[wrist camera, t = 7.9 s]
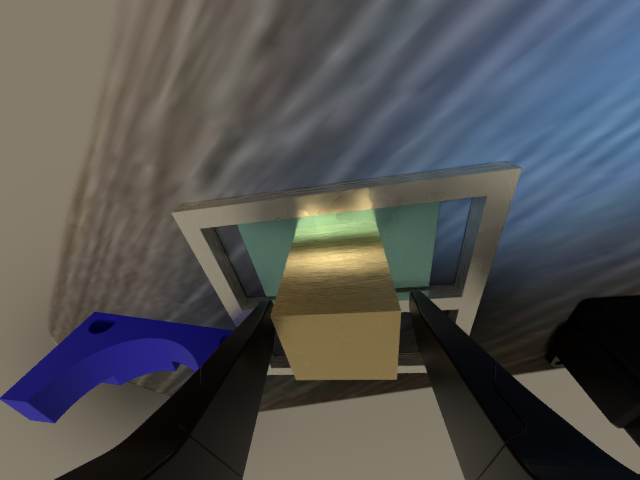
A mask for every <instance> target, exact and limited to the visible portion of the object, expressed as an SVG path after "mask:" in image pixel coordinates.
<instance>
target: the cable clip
mask: <svg viewBox="0 0 640 480" xmlns="http://www.w3.org/2000/svg"><path fill="white" fill-rule="evenodd" d="M232 332H233V331H231V330H224V329H216V328H209V327H202V326H194V325H187V324H180V323H172V322H165V321H158V320H150V319H143V318H136V317H128V316H121V315H114V314H106V313H99V312H94V313H93V314H92V315H91V316H89V317H88V318H87V319H86V320H85V321H84V322H83V323H82V324H81V325H80V326H78V327H77V328H76V329H75V330H74V331H73V332H72V333H71V334H70V335H69V336H68V337H66V338H65V339H64V340H63V341H62V342H61V343H60V344H59V345H58V346H57V347H55V348H54V349H53V350H52V351H51V352H50V353H49V354H48V355H47V356H46V357H44V358H43V359H42V360H41V361H40V362H39V363H38V364H37V365H36V366H35V367H33V368H32V369H31V370H30V371H29V372H28V373H27V374H26V375H25V376H24V377H22V378H21V379H20V380H19V381H18V382H17V383H16V384H15V385H14V386H13V387H12V388H10V389H9V390H8V391H7V392H6V393H5V394H4V395H3V396H2V397H0V400H2V401H3V402H5V403H6V404H8V405H9V406H11V407H12V408H14V409H15V410H16V411H18V412H19V413H21V414H22V415H24V416H25V417H27V418H28V419H30V420H34V421H41V422H49V423H56V422H57V420H58V419H59V418H60V417H61V416H62V415H63V414H64V413H65V412H66V411H67V410H68V409H69V408H70V407H71V406H72V405H73V404H74V403H75V402H76V401H77V400H79V398H81V397H82V396H83V395H85V394H86V393H87V392H88V391H89V390H91V389H92V388H94V387H95V386H96V385H98V384H99V383H108V384H116V385H122V384H124V383H125V382H127V381H129V380H132V379H134V378H136V377H139V376H142V375H145V374H148V373H152V372H157V371H166V370H169V371H176V370H177V368H178V366H179V365H180V363H181V364H184V365H186V366H188V367H190V368H191V369H192V370H194V371H195V372H196V371H197V370H198V369H199V368H200V367H201V366H202V365H203V363H204V362H205V361H206V360H207V359H208V358H209V357H210V356H211V355H212V354H213V353H214V352H215V351H216V349H217V348H218V347H219V346H220V345H221V344H222V343H223V342H224V341H225V340H226V339H227V338H228V337H229V336H230V334H231V333H232Z"/></svg>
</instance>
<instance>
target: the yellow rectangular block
mask: <svg viewBox="0 0 640 480" xmlns="http://www.w3.org/2000/svg"><path fill="white" fill-rule="evenodd" d="M270 317H271V320H272V322H273V324H274V327H275V329H276V332H277V334H278V337H279V339H280V342H281V344H282V347H283V349H284V351H285V354H286V356H287V359H288V361H289V364H290V366H291V369H292V371H293V374H294V376H295V378H296V380H397V369H398V354H399V338H400V323H401V308H400V305H399V301H398V298H397V294H396V291H395V287H394V284H393V280H392V277H391V273H390V270H389V266H388V263H387V259H386V255H385V252H384V248H383V245H382V241H381V238H380V234H379V231H378V227H377V224H376V221H367V222H357V223H347V224H336V225H326V226H316V227H305V228H297V229H296V232H295V236H294V239H293V242H292V246H291V249H290V252H289V256H288V259H287V262H286V266H285V269H284V272H283V276H282V279H281V282H280V286H279V289H278V293H277V296H276V299H275V303H274V306H273V309H272V313H271V316H270Z"/></svg>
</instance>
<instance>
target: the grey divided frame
mask: <svg viewBox="0 0 640 480" xmlns="http://www.w3.org/2000/svg"><path fill="white" fill-rule="evenodd" d="M521 169H522V168H521V167H518V166H516V165H514V164H511V163H509V162H507V161H503V162H496V163H488V164H480V165H473V166H465V167H458V168H450V169H443V170H435V171H428V172H420V173H413V174H405V175H398V176H390V177H383V178H375V179H367V180H360V181H352V182H345V183H337V184H330V185H322V186H315V187H307V188H300V189H292V190H285V191H277V192H270V193H262V194H255V195H247V196H239V197H232V198H224V199H217V200H209V201H202V202H194V203H187V204H182V205H181V206H180V207H178V208H177V209H176V210H174V211H173V212H172V215H173V217H174V219H175V220H176V222H177V224H178V226H179V227H180V229H181V231H182V233H183V234H184V236H185V238H186V240H187V242H188V243H189V245H190V247H191V249H192V250H193V252H194V254H195V256H196V257H197V259H198V261H199V263H200V264H201V266H202V268H203V270H204V271H205V273H206V275H207V277H208V278H209V280H210V282H211V284H212V286H213V287H214V289H215V291H216V293H217V294H218V296H219V298H220V300H221V301H222V303H223V305H224V307H225V308H226V310H227V312H228V314H229V315H230V317H231V319H232V321H233V322H234V324H235V326H236V328H237V327H238V326H239V325H240V324H241V323H242V322H243V320H244V319H245V318H246V317H247V316H248V315H249V314H250V313H251V312H252V311H253V310H254V309H255V308H256V307H257V305H258V304H259V303H260V302H261V301H263V300H272V302H273V304H274V303H275V299H276V296H277V293H278V289H279V286H280V282H281V279H282V276H283V272H284V269H285V266H286V262H287V259H288V256H289V252H290V249H291V246H292V242H293V239H294V236H295V232H296V229H297V228H305V227H316V226H326V225H336V224H347V223H357V222H367V221H376V224H377V227H378V231H379V234H380V238H381V241H382V245H383V248H384V252H385V255H386V259H387V263H388V266H389V270H390V273H391V277H392V280H393V284H394V287H395V291H396V294H397V298H398V301H399V305H400V308H401V312H410V311H409V295H410V292H411V291H421V292H423V293H424V294H425V295H426V296H427V297H428V298H429V299H430V300H431V301H432V302H433V303H434V304H435V305H437V306H438V307H439V308H440V309H441V310H449V311H448V317H449V318H450V319H452V320H453V321H454V322H455V323H456V324H457V325H458V326H459V327H460V328H461V329H462V330H463V331H464V332H465V333H467V334H468V335H470V332H471V328H472V325H473V322H474V319H475V316H476V313H477V309H478V306H479V303H480V300H481V297H482V293H483V290H484V287H485V284H486V281H487V278H488V274H489V271H490V268H491V265H492V262H493V258H494V255H495V252H496V249H497V246H498V243H499V239H500V236H501V233H502V230H503V227H504V224H505V220H506V217H507V214H508V211H509V208H510V204H511V201H512V198H513V195H514V192H515V189H516V185H517V182H518V179H519V176H520V173H521ZM472 197H473V199H472V204H471V209H470V213H469V218H468V223H467V227H466V232H465V237H464V241H463V246H462V251H461V255H460V260H459V265H458V269H457V274H456V279H455V283H454V284H451V285H436V286H429V282H430V274H431V267H432V259H433V252H434V244H435V237H436V229H437V222H438V214H439V207H440V201H446V200H454V199H463V198H472ZM236 224H237V226H238V228H239V231H240V233H241V236H242V238H243V241H244V243H245V245H246V248H247V250H248V253H249V255H250V258H251V260H252V263H253V265H254V267H255V270H256V272H257V275H258V277H259V280H260V282H261V285H262V287H263V289H264V292H265V294H266V297H251V298H247V297H246V295H245V293H244V291H243V289H242V287H241V285H240V283H239V281H238V278H237V276H236V274H235V272H234V270H233V268H232V266H231V264H230V262H229V260H228V257H227V255H226V253H225V251H224V249H223V247H222V245H221V243H220V241H219V239H218V237H217V234H216V232H215V230H214V228H213V227H218V226H227V225H236ZM397 373H427V371H426V368H425V365H424V363H423V360H422V357H421V354H420V352H415V353H399V354H398V369H397ZM267 375H294V374H293V371H292V369H291V366H290V364H289V361H288V359H287V356H274V354H273V352H272V355H271V360H270V364H269V368H268V373H267Z"/></svg>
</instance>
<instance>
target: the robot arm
mask: <svg viewBox="0 0 640 480" xmlns="http://www.w3.org/2000/svg"><path fill="white" fill-rule="evenodd" d="M273 306H274V304H273V302H272V300H263V301H261V302H260V303H259V304H258V305H257V307H256V308H255V309H254V310H253V311H252V312H251V313H250V314H249V315H248V316H247V317H246V318H245V319H244V320H243V322H242V323H241V324H240V325H239V326H238V327H237V328H236V329H235V330H234V331H233V332H232V333H231V334H230V336H229V337H228V338H227V339H226V340H225V341H224V342H223V343H222V344H221V345H220V346H219V347H218V348H217V349H216V351H215V352H214V353H213V354H212V355H211V356H210V357H209V358H208V359H207V360H206V361H205V362H204V363H203V365H202V366H201V367H200V368H199V369H198V370H197V371H196V372H195V373H194V374H193V375H192V376H191V377H190V378H189V379H188V380H187V381H186V382H185V383H184V384H183V386H182V387H181V388H180V389H179V390H178V391H176V392H175V393H174V394H173V395H172V396H171V397H170V398H169V399H168V400H167V401H166V402H165V403H164V404H163V405H162V406H161V407H160V408H159V409H158V410H157V411H156V412H154V413H153V414H152V415H151V416H150V417H149V418H148V419H147V420H146V421H145V422H144V423H143V424H142V425H141V426H140V427H139V428H138V429H136V430H135V431H134V432H133V433H132V434H131V435H130V436H129V437H128V438H127V439H125V440H124V441H123V442H121V443H120V444H119V445H117V446H116V447H114V448H113V449H111V450H110V451H108V452H106V453H105V454H103V455H101V456H99V457H97V458H95V459H93V460H91V461H89V462H87V463H86V464H84V465H82V466H80V467H78V468H76V469H74V470H72V471H70V472H68V473H66V474H65V475H62V476H60V477H58V478H56V479H55V480H243V478H242V477H243V474H244V470H245V466H246V461H247V457H248V453H249V449H250V445H251V441H252V436H253V432H254V428H255V424H256V419H257V415H258V411H259V407H260V402H261V398H262V394H263V390H264V385H265V381H266V377H267V373H268V368H269V364H270V360H271V355H272V351H273V344H274V336H275V327H274V324H273V322H272V320H271V317H270V316H271V313H272V309H273ZM409 311H410V315H411V319H412V324H413V328H414V332H415V337H416V341H417V345H418V348H419V351H420V354H421V357H422V360H423V363H424V365H425V368H426V371H427V374H428V377H429V380H430V382H431V385H432V388H433V391H434V393H435V396H436V399H437V402H438V405H439V408H440V410H441V413H442V416H443V419H444V422H445V424H446V427H447V430H448V433H449V436H450V438H451V442H452V444H453V447H454V450H455V453H456V456H457V458H458V461H459V464H460V467H461V470H462V472H463V475H464V478H465V480H640V474H637V473H635V472H634V471H632V470H630V469H629V468H627V467H626V466H624V465H623V464H621V463H619V462H618V461H617V460H615V459H614V458H612V457H611V456H610V455H608V454H607V453H605V452H604V451H603V450H601V449H600V448H599V447H598V446H596V445H595V444H594V443H593V442H591V441H590V440H589V439H588V438H586V437H585V436H584V435H583V434H582V433H580V432H579V431H578V430H576V429H575V428H574V427H573V426H572V425H570V424H569V423H568V422H567V421H565V420H564V419H563V418H562V417H560V416H559V415H558V414H557V413H556V412H554V411H553V410H552V409H551V408H549V407H548V406H547V405H546V404H544V403H543V402H542V401H541V400H539V399H538V398H537V397H536V396H535V395H534V394H532V393H531V392H530V391H529V390H528V389H526V388H525V387H524V386H523V385H522V384H521V383H520V382H518V381H517V380H516V379H515V378H514V377H513V376H512V375H511V374H510V373H508V372H507V371H506V370H505V369H504V368H503V367H502V366H501V365H500V364H499V363H498V362H495V360H494V359H493V358H492V357H491V356H490V355H489V354H488V353H487V352H486V351H485V350H484V349H483V348H482V347H480V346H479V345H478V344H477V343H476V342H475V341H474V340H473V339H472V338H471V337H470V336H469V335H468V334H467V333H465V332H464V331H463V330H462V329H461V328H460V327H459V326H458V325H457V324H456V323H455V322H454V321H453V320H452V319H450V318H449V317H448V316H447V315H446V314H445V313H444V312H443V311H442V310H441V309H440V308H439V307H438V306H437V305H435V304H434V303H433V302H432V301H431V300H430V299H429V298H428V297H427V296H426V295H425V294H424V293H423V292H421V291H411V292H410V295H409ZM546 359H547V361H548V362H549V363H550V365H551V366H553V367H566V369H567V370H568V371H569V372H570V374H571V375H572V376H573V377H574V378H575V380H576V381H577V382H578V383H579V385H580V386H581V387H582V388H583V389H584V391H585V392H586V393H587V394H588V396H589V397H590V398H591V399H592V401H593V402H594V403H595V404H596V405H597V407H598V408H599V409H600V410H601V411H602V413H603V414H604V415H605V416H606V418H607V419H608V420H609V421H610V422H611V423H612V424H613V425H615V427H617V428H624V429H625V431H626V432H627V433H628V434H629V435H630V436H631V438H632V439H633V440H634V441H635V443H636V444H637V445H638V446H639V447H640V297H635V298H616V299H596V300H590V301H588V302H586V303H584V304H583V305H582V306H581V307H580V309H579V310H578V312H577V313H576V315H575V316H574V318H573V319H572V321H571V322H570V324H569V325H568V327H567V328H566V330H565V331H564V333H563V334H562V336H561V337H560V339H559V340H558V342H557V343H556V345H555V346H554V348H553V349H552V351H551V352H550V354H549V355H548V357H547V358H546Z"/></svg>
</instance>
